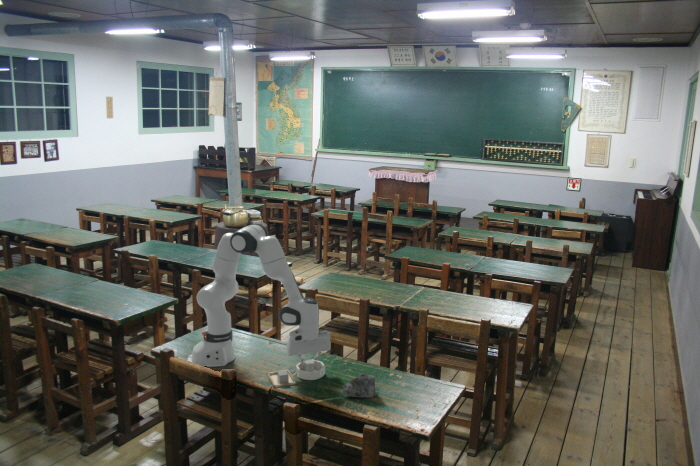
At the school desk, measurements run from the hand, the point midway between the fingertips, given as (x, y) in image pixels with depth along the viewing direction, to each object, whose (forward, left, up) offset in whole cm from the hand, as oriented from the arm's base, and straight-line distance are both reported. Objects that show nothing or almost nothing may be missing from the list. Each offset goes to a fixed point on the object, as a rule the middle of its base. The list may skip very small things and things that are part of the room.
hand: (308, 361), depth 252 cm
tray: (-14, -4, -6) cm, 15 cm away
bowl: (0, -3, -6) cm, 6 cm away
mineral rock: (+14, -27, -6) cm, 31 cm away
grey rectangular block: (-14, -7, -5) cm, 16 cm away
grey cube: (0, 0, -5) cm, 5 cm away
